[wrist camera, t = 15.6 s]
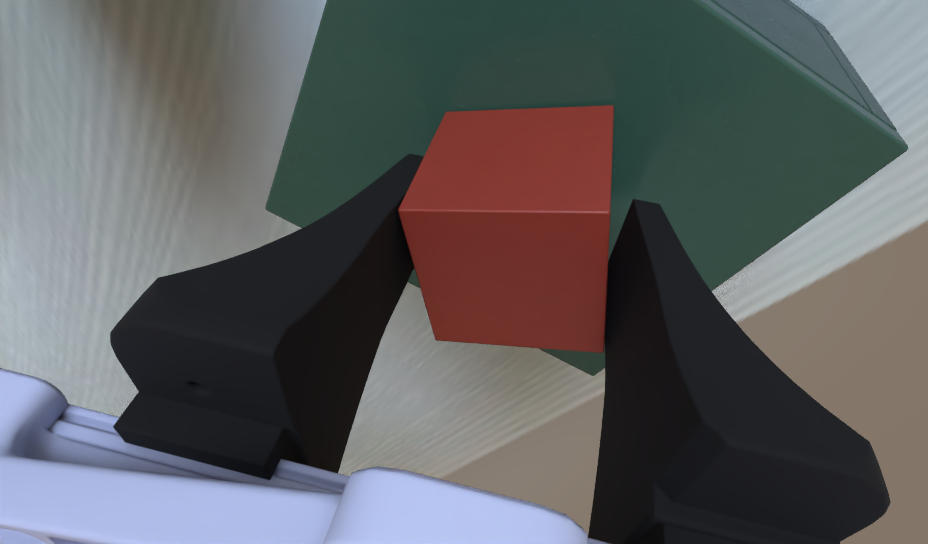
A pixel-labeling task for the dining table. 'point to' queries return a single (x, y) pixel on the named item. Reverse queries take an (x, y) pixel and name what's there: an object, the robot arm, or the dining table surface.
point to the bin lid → (588, 84)
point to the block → (515, 226)
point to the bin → (805, 46)
